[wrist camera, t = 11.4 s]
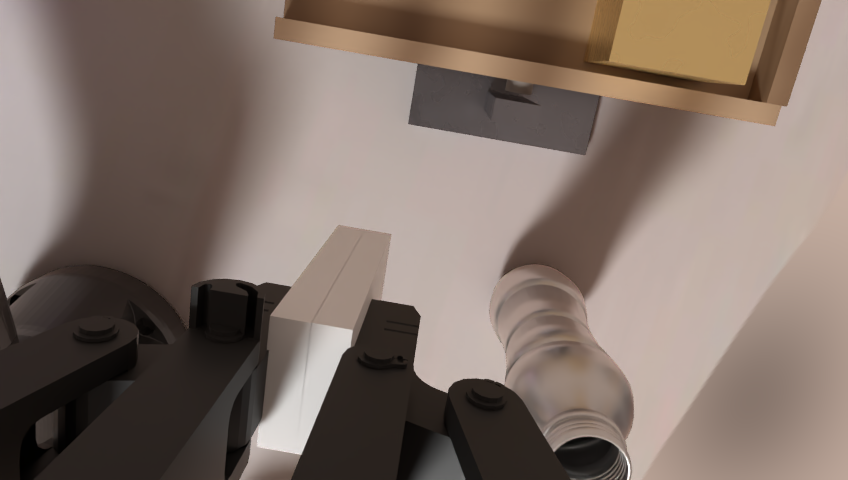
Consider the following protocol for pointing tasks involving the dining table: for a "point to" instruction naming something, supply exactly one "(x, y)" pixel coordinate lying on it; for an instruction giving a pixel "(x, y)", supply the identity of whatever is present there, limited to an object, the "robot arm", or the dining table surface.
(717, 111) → the beam
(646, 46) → the block
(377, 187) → the dining table surface
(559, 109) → the pivot stand
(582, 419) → the plastic bottle
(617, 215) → the dining table surface
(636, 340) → the dining table surface
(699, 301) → the dining table surface
